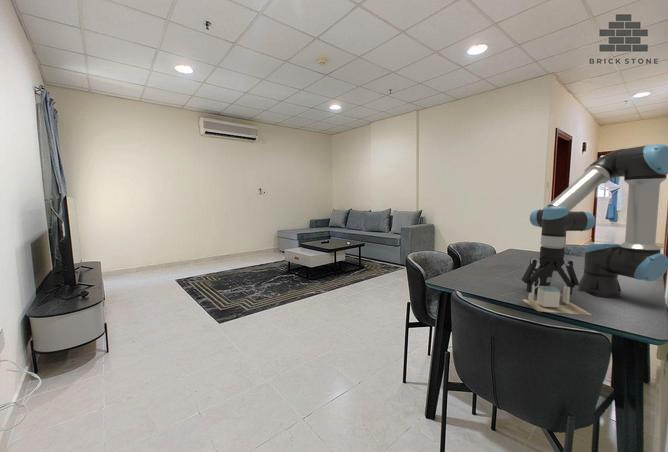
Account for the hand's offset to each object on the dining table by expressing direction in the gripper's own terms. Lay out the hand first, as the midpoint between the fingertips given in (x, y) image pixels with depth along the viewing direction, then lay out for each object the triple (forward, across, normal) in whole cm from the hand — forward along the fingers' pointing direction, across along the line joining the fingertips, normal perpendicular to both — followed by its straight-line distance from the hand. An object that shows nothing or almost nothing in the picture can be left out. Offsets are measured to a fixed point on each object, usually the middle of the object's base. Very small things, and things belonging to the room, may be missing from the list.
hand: (548, 301), depth 114 cm
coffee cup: (+4, -6, -19) cm, 20 cm away
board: (+3, -3, -1) cm, 5 cm away
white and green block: (+1, 0, 0) cm, 1 cm away
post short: (+2, -7, -4) cm, 9 cm away
